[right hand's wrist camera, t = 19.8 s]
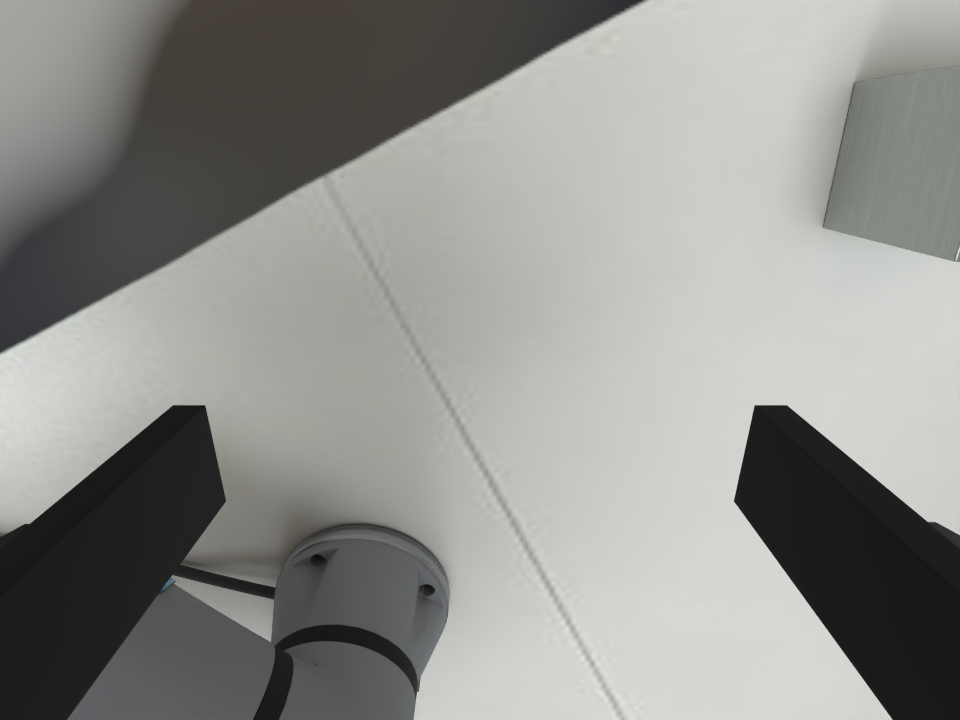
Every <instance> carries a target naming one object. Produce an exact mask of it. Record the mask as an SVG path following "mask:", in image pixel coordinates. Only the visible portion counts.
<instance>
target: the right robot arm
mask: <svg viewBox="0 0 960 720" xmlns="http://www.w3.org/2000/svg"><path fill="white" fill-rule="evenodd" d="M225 502H226V499H225V495H224V490H223V485H222V481H221V476H220V471H219V467H218V462H217V458H216V453H215V448H214V444H213V439H212V435H211V430H210V425H209V421H208V416H207V411H206V407H205V405H173V406H172V407H171V408H169V409H168V410H167V411H166V412H165V413H163V414H162V415H161V416H160V417H159V418H157V419H156V420H155V421H154V422H153V423H151V424H150V425H149V426H148V427H147V428H145V429H144V430H143V431H142V432H140V433H139V434H138V435H137V436H136V437H134V438H133V439H132V440H131V441H130V442H128V443H127V444H126V445H125V446H124V447H122V448H121V449H120V450H119V451H118V452H116V453H115V454H114V455H113V456H112V457H110V458H109V459H108V460H107V461H105V462H104V463H103V464H102V465H101V466H99V467H98V468H97V469H96V470H95V471H93V472H92V473H91V474H90V475H89V476H87V477H86V478H85V479H84V480H83V481H81V482H80V483H79V484H78V485H76V486H75V487H74V488H73V489H72V490H70V491H69V492H68V493H67V494H66V495H64V496H63V497H62V498H61V499H60V500H58V501H57V502H56V503H55V504H54V505H52V506H51V507H50V508H49V509H47V510H46V511H45V512H44V513H43V514H41V515H40V516H39V517H38V518H37V519H35V520H34V521H33V522H32V523H31V524H24V525H23V526H21V527H19V528H17V529H15V530H13V531H12V532H10V533H8V534H6V535H4V536H2V537H1V536H0V720H413V719H414V711H415V702H416V695H417V692H418V691H419V685H420V678H421V675H422V673H423V671H424V669H425V667H426V665H427V663H428V661H429V659H430V657H431V655H432V653H433V650H434V648H435V646H436V644H437V642H438V640H439V638H440V636H441V634H442V632H443V629H444V627H445V624H446V621H447V616H448V606H449V586H448V581H447V578H446V575H445V573H444V571H443V569H442V567H441V566H440V564H439V563H438V561H437V560H436V559H435V557H434V556H433V555H432V554H431V553H430V552H429V551H428V550H427V549H425V548H424V547H423V546H422V545H420V544H419V543H417V542H416V541H414V540H413V539H411V538H409V537H407V536H405V535H403V534H400V533H398V532H395V531H392V530H389V529H386V528H381V527H376V526H370V525H345V526H338V527H334V528H330V529H326V530H323V531H321V532H318V533H316V534H314V535H312V536H310V537H309V538H307V539H306V540H304V541H303V542H302V543H300V544H299V545H298V546H297V547H296V548H295V549H294V550H293V552H292V553H291V554H290V556H289V557H288V559H287V561H286V563H285V565H284V567H283V569H282V571H281V574H280V576H279V578H278V581H277V584H276V588H274V587H270V586H265V585H261V584H256V583H252V582H248V581H243V580H239V579H235V578H231V577H226V576H222V575H218V574H214V573H210V572H206V571H202V570H198V569H194V568H190V567H186V566H182V565H180V564H181V562H182V561H183V560H184V558H185V557H186V555H187V554H188V553H189V551H190V550H191V549H192V547H193V546H194V544H195V543H196V542H197V540H198V539H199V538H200V536H201V535H202V533H203V532H204V531H205V529H206V528H207V527H208V525H209V524H210V522H211V521H212V520H213V518H214V517H215V516H216V514H217V513H218V511H219V510H220V509H221V507H222V506H223V505H224V503H225ZM734 502H735V503H736V505H737V506H738V507H739V509H740V510H741V511H742V513H743V514H744V516H745V517H746V518H747V520H748V521H749V522H750V524H751V525H752V527H753V528H754V529H755V531H756V532H757V533H758V535H759V536H760V538H761V539H762V540H763V542H764V543H765V544H766V546H767V547H768V549H769V550H770V551H771V553H772V554H773V555H774V557H775V558H776V560H777V561H778V562H779V564H780V565H781V567H782V568H783V569H784V571H785V572H786V573H787V575H788V576H789V578H790V579H791V580H792V582H793V583H794V584H795V586H796V587H797V589H798V590H799V591H800V593H801V594H802V595H803V597H804V598H805V600H806V601H807V602H808V604H809V605H810V606H811V608H812V609H813V611H814V612H815V613H816V615H817V616H818V617H819V619H820V620H821V622H822V623H823V624H824V626H825V627H826V628H827V630H828V631H829V633H830V634H831V635H832V637H833V638H834V639H835V641H836V642H837V644H838V645H839V646H840V648H841V649H842V650H843V652H844V653H845V655H846V656H847V657H848V659H849V660H850V662H851V663H852V664H853V666H854V667H855V668H856V670H857V671H858V673H859V674H860V675H861V677H862V678H863V679H864V681H865V682H866V684H867V685H868V686H869V688H870V689H871V690H872V692H873V693H874V695H875V696H876V697H877V699H878V700H879V701H880V703H881V704H882V706H883V707H884V708H885V710H886V711H887V712H888V714H889V715H890V717H891V718H892V719H893V720H960V535H958V534H956V533H954V532H953V531H951V530H949V529H947V528H945V527H943V526H942V525H940V524H938V523H936V522H927V521H926V520H925V519H923V518H922V517H921V516H920V515H919V514H917V513H916V512H915V511H914V510H913V509H911V508H910V507H909V506H908V505H906V504H905V503H904V502H903V501H902V500H900V499H899V498H898V497H897V496H896V495H894V494H893V493H892V492H891V491H890V490H888V489H887V488H886V487H885V486H884V485H882V484H881V483H880V482H879V481H877V480H876V479H875V478H874V477H873V476H871V475H870V474H869V473H868V472H867V471H865V470H864V469H863V468H862V467H861V466H859V465H858V464H857V463H856V462H855V461H853V460H852V459H851V458H850V457H848V456H847V455H846V454H845V453H844V452H842V451H841V450H840V449H839V448H838V447H836V446H835V445H834V444H833V443H832V442H830V441H829V440H828V439H827V438H826V437H824V436H823V435H822V434H821V433H820V432H818V431H817V430H816V429H815V428H813V427H812V426H811V425H810V424H809V423H807V422H806V421H805V420H804V419H803V418H801V417H800V416H799V415H798V414H797V413H795V412H794V411H793V410H792V409H791V408H789V407H788V406H787V405H755V407H754V411H753V416H752V421H751V425H750V430H749V435H748V439H747V444H746V448H745V453H744V458H743V462H742V467H741V471H740V476H739V481H738V485H737V490H736V495H735V499H734ZM172 575H175V576H179V577H183V578H187V579H191V580H195V581H198V582H202V583H206V584H210V585H215V586H219V587H223V588H227V589H231V590H235V591H239V592H244V593H248V594H252V595H257V596H261V597H266V598H270V599H274V610H273V624H272V638H271V642H269V641H267V640H266V639H264V638H262V637H261V636H259V635H257V634H255V633H254V632H252V631H250V630H249V629H247V628H245V627H243V626H242V625H240V624H238V623H237V622H235V621H233V620H232V619H230V618H228V617H226V616H225V615H223V614H222V613H220V612H218V611H217V610H215V609H214V608H212V607H210V606H209V605H207V604H205V603H204V602H202V601H201V600H199V599H197V598H196V597H194V596H192V595H191V594H189V593H188V592H186V591H184V590H183V589H181V588H179V587H178V586H176V585H175V584H173V583H175V582H176V580H174V579H173V578H171V576H172Z"/></svg>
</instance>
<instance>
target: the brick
mask: <svg viewBox="0 0 960 720" xmlns="http://www.w3.org/2000/svg"><path fill="white" fill-rule="evenodd" d="M823 228H826V229H830V230H834V231H837V232H841V233H845V234H849V235H853V236H857V237H861V238H865V239H868V240H872V241H876V242H880V243H884V244H888V245H892V246H896V247H900V248H903V249H907V250H911V251H915V252H919V253H923V254H927V255H931V256H935V257H938V258H942V259H946V260H950V261H954V262H960V65H957V66H951V67H945V68H938V69H932V70H926V71H920V72H914V73H908V74H901V75H895V76H889V77H883V78H877V79H871V80H864V81H858V82H855V84H854V89H853V93H852V98H851V102H850V107H849V111H848V116H847V121H846V125H845V130H844V134H843V139H842V144H841V148H840V153H839V157H838V162H837V167H836V171H835V176H834V180H833V185H832V189H831V194H830V199H829V203H828V208H827V212H826V217H825V222H824V226H823Z"/></svg>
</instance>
